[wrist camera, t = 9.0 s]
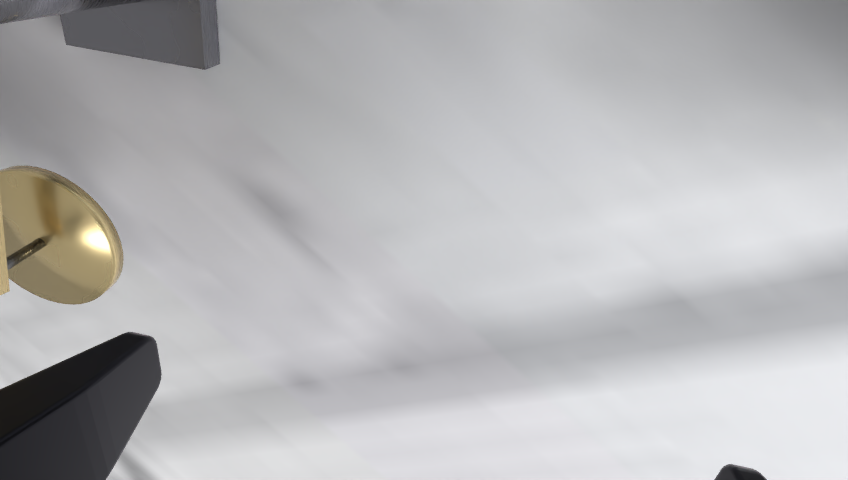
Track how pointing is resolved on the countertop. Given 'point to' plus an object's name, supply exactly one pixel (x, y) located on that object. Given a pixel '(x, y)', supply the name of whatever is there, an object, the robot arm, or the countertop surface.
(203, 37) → the balance
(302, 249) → the countertop surface
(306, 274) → the countertop surface
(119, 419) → the robot arm
